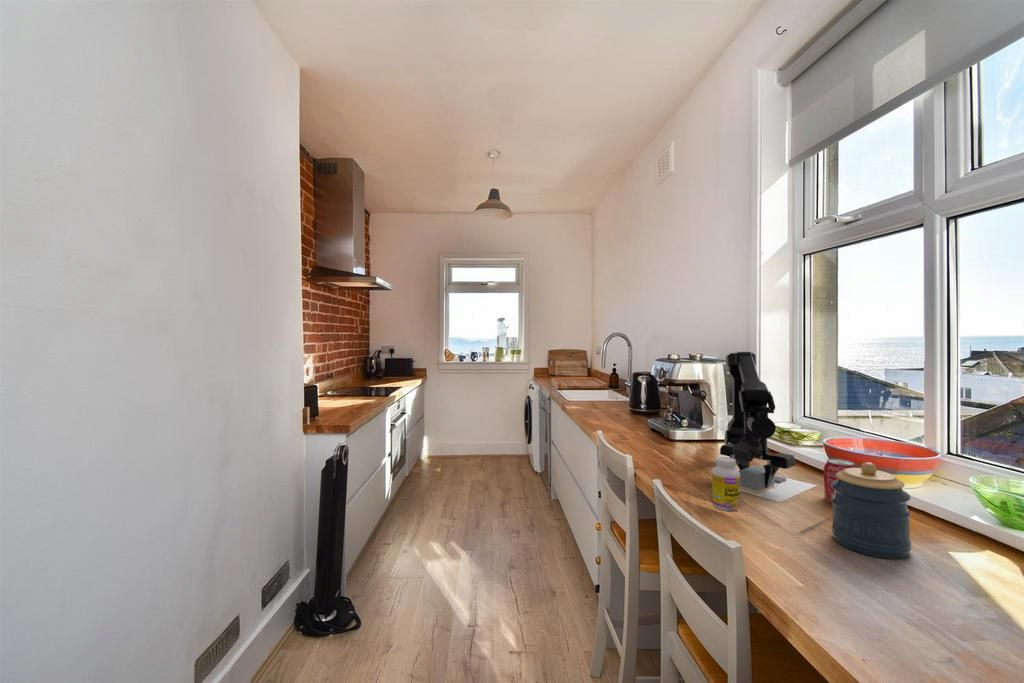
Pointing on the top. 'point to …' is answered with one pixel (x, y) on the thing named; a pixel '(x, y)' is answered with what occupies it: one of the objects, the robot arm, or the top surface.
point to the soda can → (833, 475)
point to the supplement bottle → (725, 484)
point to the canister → (871, 512)
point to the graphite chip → (779, 479)
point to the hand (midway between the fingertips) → (756, 484)
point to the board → (784, 490)
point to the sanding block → (754, 479)
